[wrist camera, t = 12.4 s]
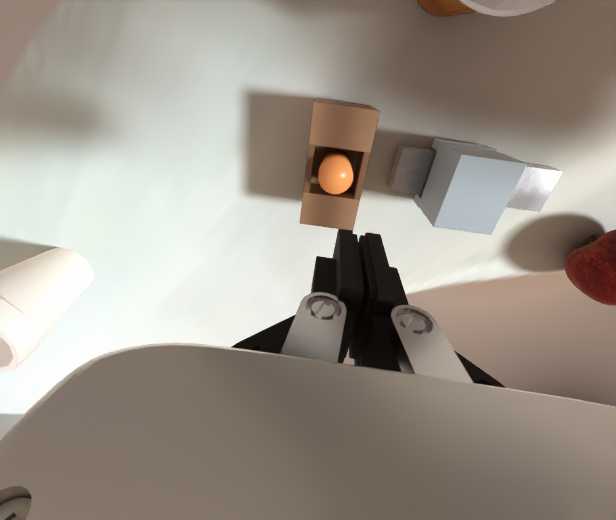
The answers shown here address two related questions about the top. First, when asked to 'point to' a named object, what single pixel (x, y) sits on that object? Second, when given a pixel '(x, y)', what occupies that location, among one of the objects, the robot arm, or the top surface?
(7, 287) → the foam cup
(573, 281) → the apple
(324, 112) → the tan slotted block
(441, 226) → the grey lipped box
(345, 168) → the peg
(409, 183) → the rail
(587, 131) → the top surface
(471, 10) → the disposable coffee cup
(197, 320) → the top surface
